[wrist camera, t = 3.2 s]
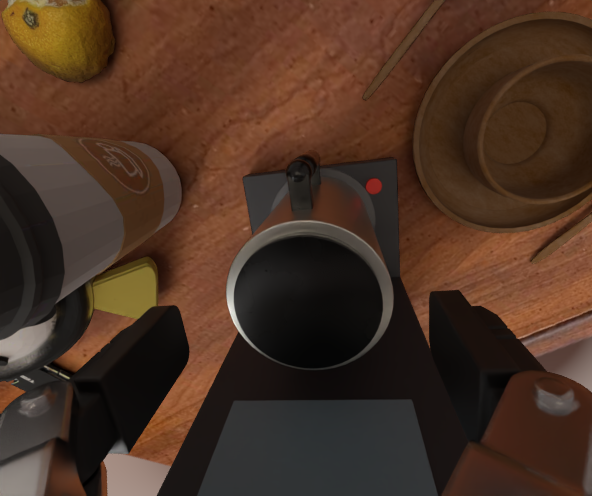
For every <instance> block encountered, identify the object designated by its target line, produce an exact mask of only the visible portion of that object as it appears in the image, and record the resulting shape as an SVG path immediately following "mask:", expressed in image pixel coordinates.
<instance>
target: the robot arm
mask: <svg viewBox="0 0 592 496" xmlns="http://www.w3.org/2000/svg"><path fill="white" fill-rule="evenodd" d="M429 342H430V349H431V354H432V357H433V360H434V363H435V365H436V367H437V370H438V372H439V374H440V377H441V379H442V381H443V384H444V386H445V388H446V391H447V393H448V395H449V398H450V400H451V402H452V405H453V407H454V410H455V412H456V414H457V417H458V419H459V421H460V424H461V426H462V428H463V431H464V433H465V435H466V438H467V440H468V442H469V443H468V444H467V446H466V447H465V449H464V451H463V453H462V455H461V457H460V459H459V461H458V463H457V465H456V467H455V469H454V471H453V473H452V475H451V477H450V479H449V481H448V483H447V485H446V487H445V489H444V491H443V493H442V495H441V496H592V392H591V391H589V390H588V389H587V388H585V387H584V386H582V385H581V384H579V383H577V382H575V381H573V380H571V379H569V378H567V377H564V376H561V375H558V374H555V373H550V372H547V371H546V370H545V369H544V368H543V366H542V365H541V364H540V363H539V362H538V361H537V360H536V358H535V357H534V356H533V355H532V354H531V353H530V352H529V351H528V349H527V348H526V347H525V346H524V345H523V344H522V343H521V341H520V340H519V339H516V336H515V335H514V334H513V332H512V331H511V330H510V329H508V328H507V326H506V324H505V323H504V322H503V321H502V320H501V319H500V318H499V317H498V315H496V314H494V313H493V312H491V311H489V310H487V309H486V308H484V307H482V306H471V305H470V304H469V302H468V301H467V300H466V298H465V297H464V296H463V295H462V293H461V292H460V291H459V290H449V291H432V292H431V293H430V298H429ZM188 358H189V344H188V341H187V337H186V333H185V329H184V325H183V321H182V318H181V314H180V311H179V309H178V307H177V306H174V305H172V306H154V307H151V308H149V309H148V310H147V311H146V312H145V313H144V314H143V315H142V316H141V317H140V318H139V319H138V320H137V321H136V322H134V323H133V324H132V325H131V326H129V327H127V328H126V329H124V330H122V331H121V332H120V333H119V334H118V335H116V336H115V337H114V338H113V339H112V340H111V341H110V343H108V344H107V345H105V346H104V347H103V348H102V349H101V352H98V353H97V354H96V355H95V356H93V357H92V358H91V359H90V360H89V361H88V362H87V363H86V364H85V365H84V366H83V367H81V368H80V369H79V370H78V371H77V372H76V373H75V374H74V375H73V376H72V377H71V378H69V379H68V380H67V381H65V380H58V381H52V382H48V383H45V384H42V385H40V386H37V387H35V388H33V389H31V390H29V391H27V392H25V393H24V394H22V395H21V396H19V397H18V398H16V399H15V400H14V401H12V402H11V403H10V404H9V405H8V406H7V407H6V408H5V410H4V411H3V412H2V413H1V414H0V496H107V471H106V467H105V464H104V462H103V460H104V458H105V457H106V455H107V454H108V453H118V454H129V452H130V451H131V449H132V448H133V446H134V445H135V443H136V441H137V440H138V438H139V437H140V435H141V434H142V432H143V431H144V429H145V428H146V426H147V425H148V423H149V421H150V420H151V418H152V417H153V415H154V414H155V412H156V411H157V409H158V408H159V406H160V405H161V403H162V401H163V400H164V398H165V397H166V395H167V394H168V392H169V391H170V389H171V388H172V386H173V385H174V383H175V382H176V380H177V378H178V377H179V375H180V374H181V372H182V371H183V369H184V368H185V366H186V364H187V362H188Z"/></svg>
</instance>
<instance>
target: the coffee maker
mask: <svg viewBox="0 0 592 496" xmlns="http://www.w3.org/2000/svg"><path fill="white" fill-rule="evenodd" d="M285 172H286V170H280V171H272V172H263V173H255V174H248V175H246V176H244V177H243V183H244V189H245V195H246V201H247V206H248V212H249V218H250V223H251V229H252V235H253V234H254V233H255V231H256V230H257V229H258V228H259V227H260V225H261V224H262V223H263V222H264V220H265V219H266V218H267V217H268V216H269V214H270V213H271V212H272V211H273V210H274V208H275V207H276V206H277V205H278V204H279V202H280V201H281V200H282V199H283V197H284V196H285V195H286V194H287V193H288V192H289V187H288V180H287V178H286V174H285ZM320 173H321V177H331V178H336V179H338V180H341V181H343V182H345V183H347V184H348V185H350V186H351V187H352V188H353V189H354V190H355V191H356V192H357V193H358V194H359V195H360V197H361V198H362V200H363V202H364V204H365V207H366V209H367V212H368V215H369V218H370V221H371V224H372V227H373V229H374V232H375V235H376V238H377V241H378V244H379V246H380V249H381V252H382V255H383V258H384V261H385V264H386V266H387V269H388V272H389V275H390V278H391V282H392V286H393V295H394V299H393V310H392V315H391V318H390V321H389V324H388V326H387V328H386V330H385V332H384V334H383V335H382V337H381V338H380V339H379V341H378V342H377V343H376V344H375V345H374V346H373V347H372V348H371V349H370V350H369V351H368V352H367V353H365V354H364V355H363V356H361V357H360V358H358V359H356V360H355V361H352V362H350V363H348V364H346V365H342V366H339V367H336V368H331V369H324V370H304V369H297V368H292V367H288V366H285V365H282V364H280V363H277V362H275V361H273V360H271V359H269V358H267V357H266V356H264V355H262V354H261V353H259V352H258V351H257V350H256V349H254V348H253V347H252V346H251V345H250V344H249V343H248V342H247V341H246V340H245V339H244V338H243V336H242V335H241V334H240V332H238V334H237V336H236V338H235V340H234V342H233V344H232V346H231V348H230V350H229V352H228V354H227V356H226V358H225V360H224V362H223V364H222V366H221V368H220V370H219V372H218V374H217V376H216V378H215V380H214V382H213V384H212V386H211V388H210V390H209V392H208V394H207V396H206V398H205V400H204V402H203V404H202V406H201V408H200V410H199V412H198V414H197V416H196V418H195V420H194V422H193V424H192V426H191V428H190V430H189V432H188V434H187V436H186V438H185V440H184V442H183V444H182V446H181V448H180V450H179V452H178V454H177V456H176V458H175V460H174V462H173V464H172V466H171V468H170V470H169V472H168V474H167V476H166V478H165V480H164V482H163V484H162V486H161V488H160V490H159V492H158V494H157V496H441V495H442V493H443V491H444V489H445V487H446V485H447V483H448V481H449V479H450V477H451V475H452V473H453V471H454V469H455V467H456V465H457V463H458V461H459V459H460V457H461V455H462V453H463V451H464V449H465V447H466V446H467V444H468V443H469V442H468V440H467V438H466V435H465V433H464V431H463V428H462V426H461V424H460V421H459V419H458V417H457V414H456V412H455V410H454V407H453V405H452V402H451V400H450V398H449V395H448V393H447V391H446V388H445V386H444V384H443V381H442V379H441V377H440V374H439V372H438V370H437V367H436V365H435V363H434V360H433V357H432V354H431V350H430V348H429V345H428V343H427V340H426V338H425V336H424V333H423V331H422V328H421V326H420V324H419V321H418V319H417V316H416V314H415V312H414V309H413V307H412V304H411V302H410V300H409V297H408V295H407V293H406V290H405V288H404V285H403V283H402V281H401V278H400V255H399V219H398V184H397V159H395V158H393V157H391V158H382V159H374V160H365V161H357V162H348V163H340V164H331V165H323V166H320Z"/></svg>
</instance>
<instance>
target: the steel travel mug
mask: <svg viewBox="0 0 592 496" xmlns="http://www.w3.org/2000/svg"><path fill="white" fill-rule="evenodd" d="M320 161H321V158H320V155H319V154H318V153H317V152H316V151H314V150H309V151H307V152H305V153H304V154H302V155H301V156H299V157H297V158H296V159H294V160H293V161H291V162H290V163H289V164H288V166H287V168H286V172H285V174H286V178H287V180H288V187H289V192H288V193H287V194H286V195H285V196H284V197H283V199H282V200H281V201H280V202H279V204H278V205H277V206H276V207H275V208H274V210H273V211H272V212H271V213H270V214H269V216H268V217H267V218H266V219H265V220H264V222H263V223H262V224H261V225H260V227H259V228H258V229H257V230H256V231H255V233H254V234H253V235H252V236H251V237H250V239H249V240H248V241H247V242H246V243H245V245H244V246H243V247H242V248H241V250H240V251H239V252H238V254H237V255H236V257H235V259H234V261H233V263H232V265H231V267H230V270H229V274H228V278H227V285H226V297H227V304H228V308H229V312H230V315H231V317H232V320H233V322H234V324H235V326H236V327H237V329H238V331H239V332H240V334H241V335H242V336H243V338H244V339H245V340H246V341H247V342H248V343H249V344H250V345H251V346H252V347H253V348H254V349H256V350H257V351H258V352H259V353H261V354H262V355H264V356H266V357H267V358H269V359H271V360H273V361H275V362H277V363H280V364H282V365H285V366H288V367H292V368H297V369H304V370H324V369H331V368H336V367H339V366H342V365H346V364H348V363H350V362H352V361H355V360H356V359H358V358H360V357H361V356H363V355H364V354H365V353H367V352H368V351H369V350H370V349H371V348H372V347H373V346H374V345H375V344H376V343H377V342H378V341H379V339H380V338H381V337H382V335H383V334H384V332H385V330H386V328H387V326H388V324H389V321H390V318H391V315H392V310H393V299H394V295H393V286H392V282H391V278H390V275H389V272H388V269H387V266H386V264H385V261H384V258H383V255H382V252H381V249H380V246H379V244H378V241H377V238H376V235H375V232H374V229H373V227H372V224H371V221H370V218H369V215H368V212H367V209H366V207H365V204H364V202H363V200H362V198H361V197H360V195H359V194H358V193H357V192H356V191H355V190H354V189H353V188H352V187H351V186H350V185H348V184H347V183H345V182H343V181H341V180H338V179H336V178H331V177H321V173H320Z"/></svg>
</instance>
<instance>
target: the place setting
mask: <svg viewBox="0 0 592 496" xmlns="http://www.w3.org/2000/svg"><path fill="white" fill-rule="evenodd" d="M444 1H445V0H434V1H433V3H432V4H431V5H430V7H429V8H428V9H427V10H426V12H425V13H424V14H423V16H422V17H421V18H420V20H419V21H418V22H417V23H416V25H415V26H414V27H413V29H412V30H411V31H410V33H409V34H408V35H407V36H406V38H405V39H404V40H403V42H402V43H401V44H400V46H399V47H398V48H397V49H396V51H395V52H394V53H393V55H392V56H391V57H390V59H389V60H388V61H387V63H386V64H385V65H384V67H383V68H382V69H381V71H380V72H379V73H378V75H377V76H376V78H375V79H374V80H373V82H372V83H371V85H370V86H369V88H368V89H367V91H366V92H365V94H364V96H363V99H364V100H367V99H368V98H369V97H370V96H371V95H372V94H373V92H374V91H375V90H376V89H377V88H378V87H379V85H380V84H381V83H382V82H383V80H384V79H385V78H386V77H387V75H388V74H389V73H390V71H391V70H392V69H393V68H394V66H395V65H396V64H397V62H398V61H399V60H400V59H401V57H402V56H403V55H404V53H405V52H406V51H407V49H408V48H409V47H410V45H411V44H412V43H413V41H414V40H415V39H416V38H417V36H418V35H419V34H420V32H421V31H422V30H423V28H424V27H425V26H426V24H427V23H428V22H429V20H430V19H431V18H432V16H433V15H434V14H435V12H436V11H437V10H438V9H439V7H440V6H441V5H442V3H443V2H444ZM412 150H413V161H414V165H415V169H416V173H417V176H418V178H419V181H420V183H421V185H422V187H423V189H424V191H425V192H426V194H427V195H428V197H429V198H430V199H431V201H432V202H433V203H434V204H435V205H436V206H437V207H438V208H439V209H440V210H441V211H442V212H443V213H444V214H446V215H447V216H449V217H450V218H451V219H453V220H455V221H457V222H458V223H460V224H462V225H464V226H467V227H470V228H473V229H476V230H480V231H485V232H492V233H516V232H523V231H529V230H533V229H536V228H540V227H543V226H546V225H549V224H551V223H554V222H556V221H558V220H560V219H562V218H564V217H566V216H568V215H570V214H571V213H573V212H575V211H576V210H578V209H579V208H581V207H582V206H583V205H585V204H586V203H587V202H589V201H590V200H591V199H592V20H591V19H589V18H586V17H583V16H580V15H576V14H571V13H565V12H539V13H530V14H526V15H522V16H518V17H514V18H512V19H509V20H506V21H504V22H501V23H499V24H497V25H495V26H493V27H491V28H489V29H487V30H485V31H484V32H482V33H480V34H479V35H478V36H476V37H475V38H473V39H472V40H470V41H469V42H468V43H466V44H465V45H464V46H463V47H462V48H461V49H459V50H458V51H457V52H456V53H455V54H454V55H453V56H452V57H451V58H450V59H449V60H448V61H447V62H446V63H445V65H444V66H443V67H442V68H441V69H440V71H439V72H438V74H437V75H436V76H435V78H434V79H433V80H432V82H431V84H430V86H429V87H428V89H427V91H426V93H425V95H424V97H423V99H422V102H421V104H420V106H419V109H418V113H417V116H416V119H415V124H414V130H413V142H412ZM591 222H592V212H591V213H590V214H589V215H588V216H586V217H585V218H584V219H582V220H581V221H580V222H578V223H577V224H576V225H574V226H573V227H572V228H570V229H569V230H568V231H566V232H565V233H563V234H562V235H561V236H559V237H558V238H557V239H555V240H554V241H553V242H551V243H550V244H549V245H547V246H546V247H545V248H544V249H543V250H541V251H540V252H539V253H538V254H537V255H536V256H535V257H534V258H533V259H532V261H531V263H532V264H535V263H537V262H539V261H541V260H542V259H544V258H546V257H547V256H549V255H550V254H551V253H553V252H554V251H555V250H557V249H558V248H559V247H561V246H562V245H563V244H564V243H566V242H567V241H568V240H569V239H571V238H572V237H573V236H574V235H576V234H577V233H578V232H579V231H581V230H582V229H583V228H584V227H586V226H587V225H588V224H589V223H591Z"/></svg>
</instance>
